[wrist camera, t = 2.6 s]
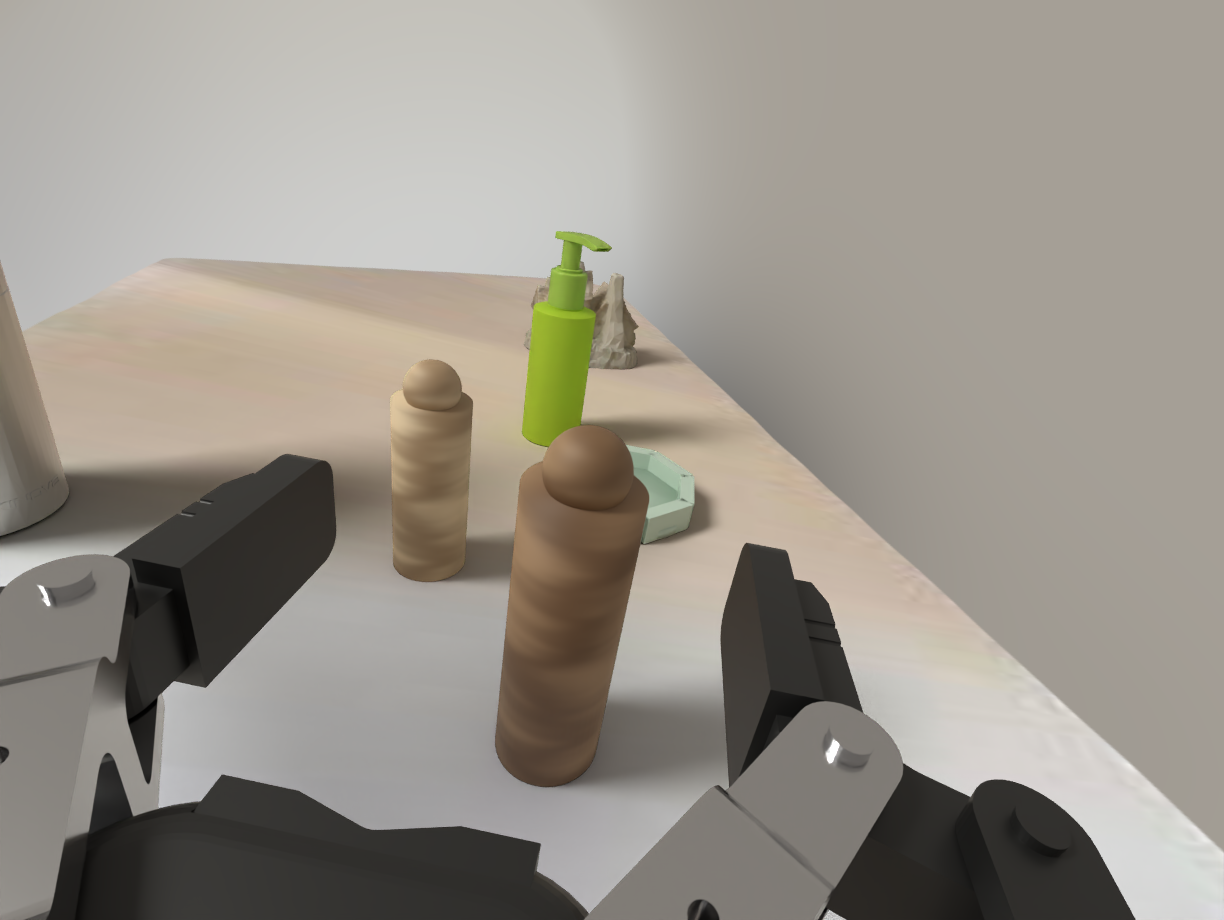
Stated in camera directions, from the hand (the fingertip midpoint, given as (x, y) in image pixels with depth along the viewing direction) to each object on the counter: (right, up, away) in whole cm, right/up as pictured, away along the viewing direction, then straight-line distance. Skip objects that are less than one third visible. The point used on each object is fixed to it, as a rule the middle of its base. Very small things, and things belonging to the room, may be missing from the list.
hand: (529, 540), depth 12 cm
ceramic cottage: (-3, +18, +78) cm, 80 cm away
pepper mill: (-2, -13, +19) cm, 23 cm away
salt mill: (-11, -5, +30) cm, 33 cm away
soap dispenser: (-4, +4, +51) cm, 51 cm away
